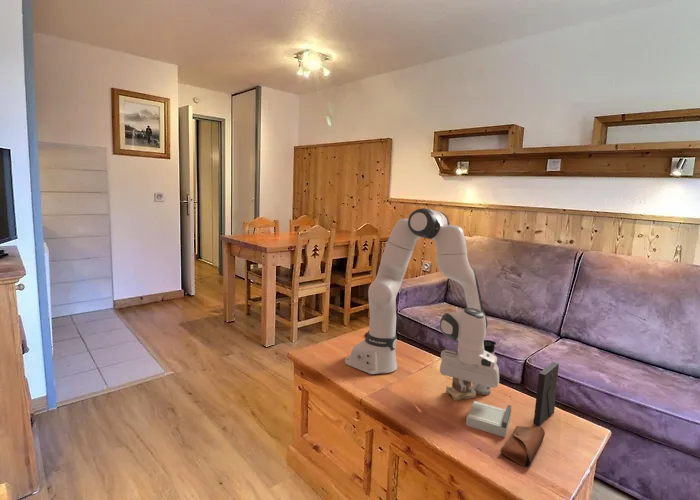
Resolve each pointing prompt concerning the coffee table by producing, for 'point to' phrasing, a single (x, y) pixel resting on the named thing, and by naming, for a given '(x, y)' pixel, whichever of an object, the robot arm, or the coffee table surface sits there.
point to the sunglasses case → (523, 444)
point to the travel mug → (489, 348)
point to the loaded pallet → (456, 394)
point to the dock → (489, 418)
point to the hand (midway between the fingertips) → (467, 391)
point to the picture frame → (546, 393)
